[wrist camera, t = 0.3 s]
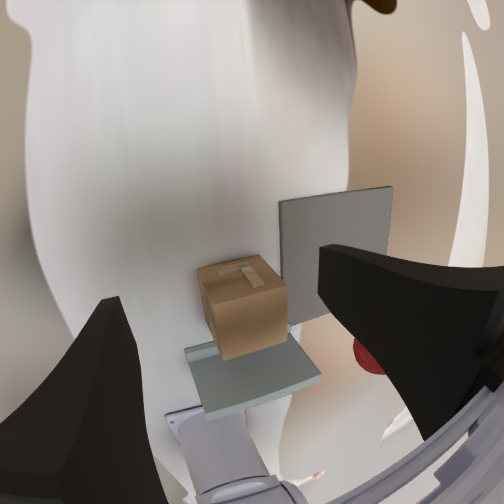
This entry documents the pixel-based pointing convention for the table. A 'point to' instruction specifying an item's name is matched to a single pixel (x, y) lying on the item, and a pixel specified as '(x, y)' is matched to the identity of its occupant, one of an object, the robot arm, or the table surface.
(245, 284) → the taped cardboard box
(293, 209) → the grey square plate
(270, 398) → the screen
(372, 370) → the onion
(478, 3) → the table surface
